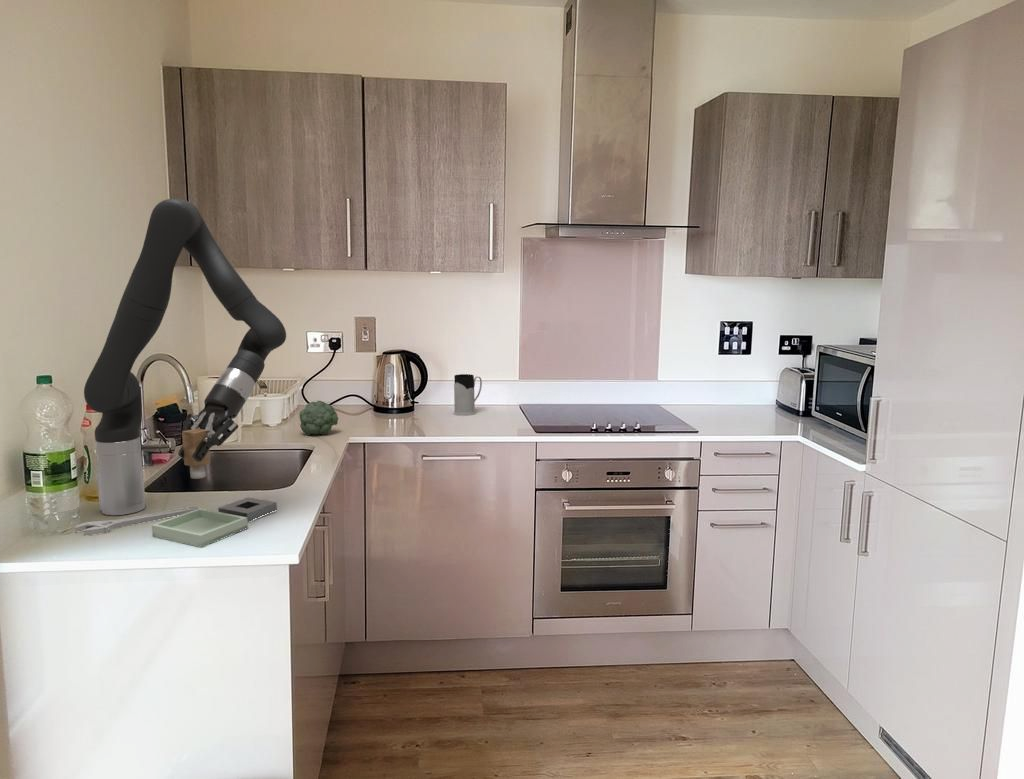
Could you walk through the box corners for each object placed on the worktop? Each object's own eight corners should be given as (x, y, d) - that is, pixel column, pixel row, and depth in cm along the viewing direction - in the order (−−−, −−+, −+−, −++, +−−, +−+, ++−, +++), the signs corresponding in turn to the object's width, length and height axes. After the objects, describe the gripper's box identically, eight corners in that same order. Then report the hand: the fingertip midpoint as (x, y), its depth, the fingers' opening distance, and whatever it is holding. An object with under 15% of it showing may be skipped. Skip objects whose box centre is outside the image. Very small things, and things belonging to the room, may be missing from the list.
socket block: (218, 517, 173) (218, 507, 172) (248, 506, 180) (248, 497, 180) (247, 522, 169) (247, 513, 168) (277, 511, 176) (276, 502, 176)
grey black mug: (448, 413, 294) (448, 375, 292) (473, 408, 305) (473, 371, 302) (465, 416, 289) (464, 377, 286) (489, 411, 299) (489, 373, 297)
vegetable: (348, 422, 267) (339, 411, 253) (323, 449, 264) (312, 440, 250) (324, 401, 269) (313, 389, 255) (298, 428, 267) (286, 417, 252)
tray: (152, 536, 160) (151, 525, 160) (200, 518, 171) (199, 508, 171) (201, 547, 154) (200, 535, 153) (248, 528, 165) (247, 517, 164)
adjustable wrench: (197, 511, 179) (197, 504, 178) (203, 518, 173) (203, 511, 173) (76, 531, 165) (75, 523, 165) (78, 539, 160) (78, 531, 159)
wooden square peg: (185, 477, 160) (182, 431, 159) (198, 473, 163) (195, 428, 162) (197, 479, 159) (194, 433, 157) (210, 475, 162) (208, 430, 160)
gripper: (197, 380, 168) (153, 445, 159) (244, 385, 162) (202, 452, 153) (217, 400, 173) (176, 463, 164) (263, 405, 167) (224, 471, 158)
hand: (189, 458), depth 159 cm, fingers closed on wooden square peg, 3 cm apart
